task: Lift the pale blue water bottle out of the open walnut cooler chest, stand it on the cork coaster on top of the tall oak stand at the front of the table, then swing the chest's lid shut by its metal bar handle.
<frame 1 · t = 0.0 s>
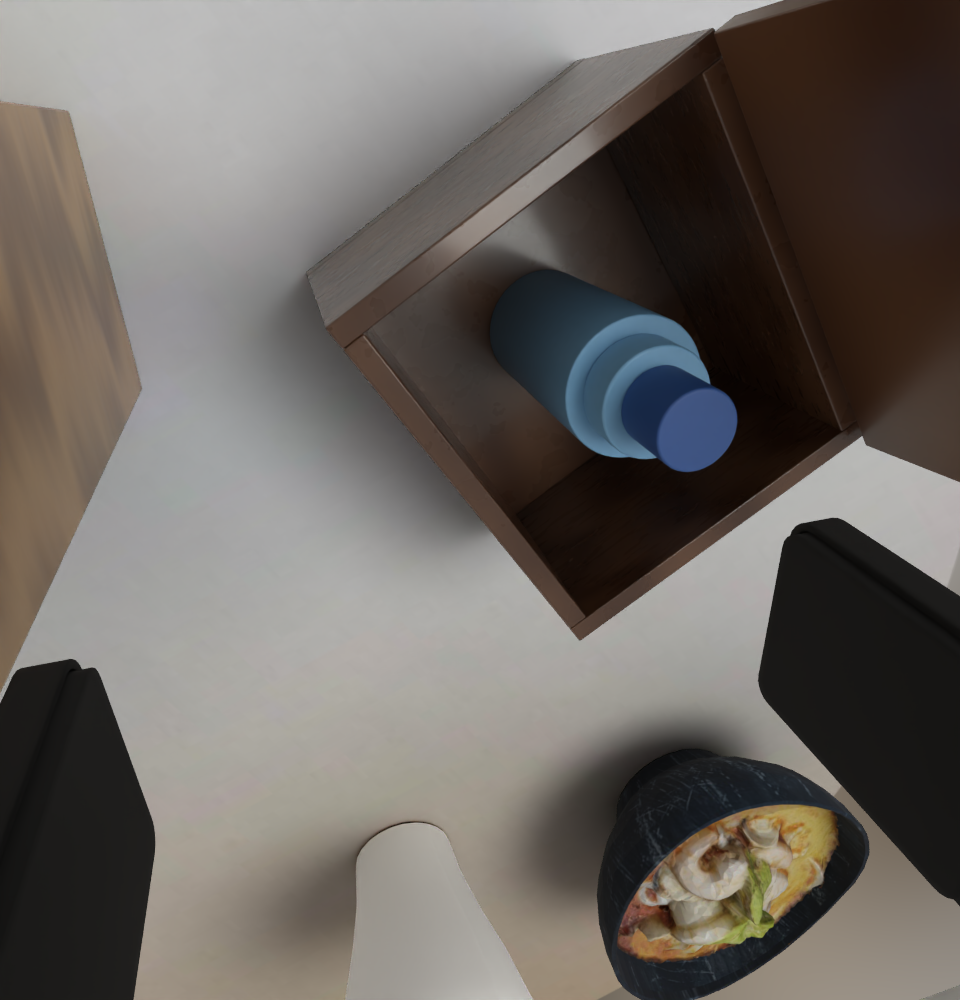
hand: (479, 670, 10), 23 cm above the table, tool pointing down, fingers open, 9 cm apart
cooler: (537, 324, 32), on the table
bowl: (669, 791, 50), on the table
cup: (402, 852, 46), on the table
bottle: (543, 328, 32), point 1 cm above the table, touching cooler
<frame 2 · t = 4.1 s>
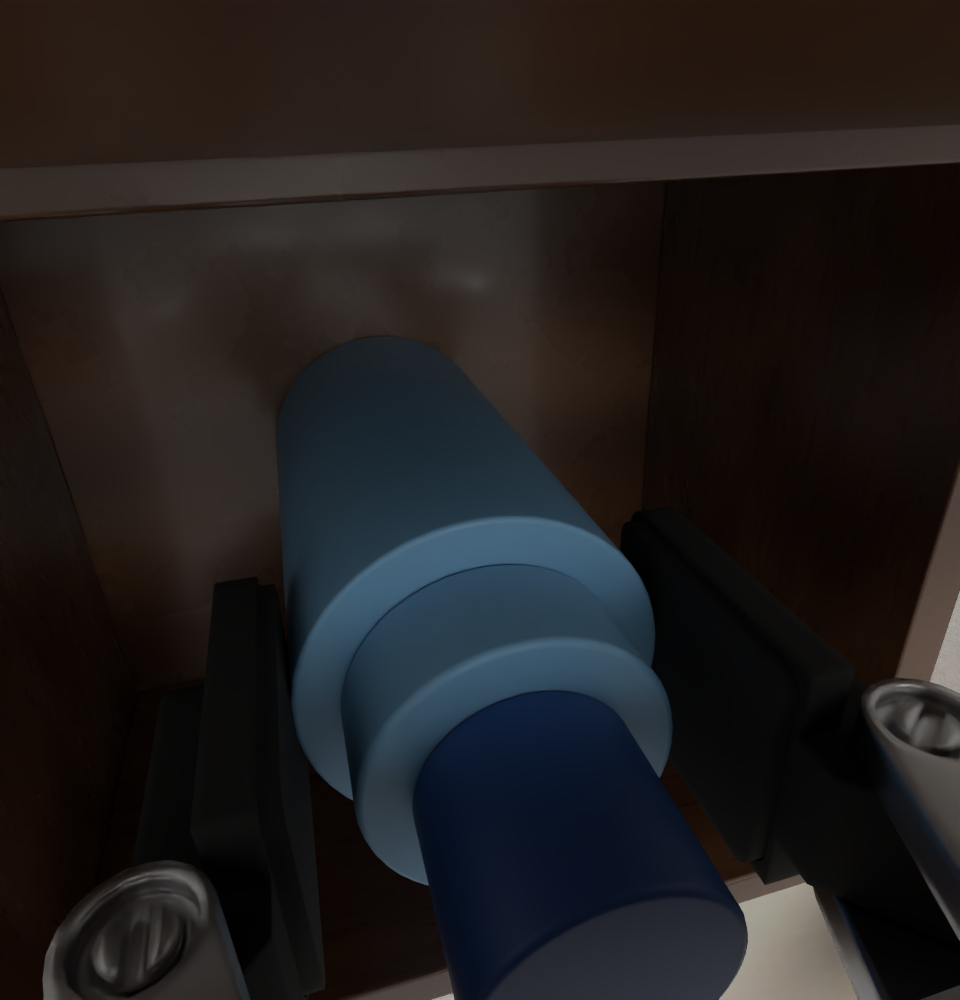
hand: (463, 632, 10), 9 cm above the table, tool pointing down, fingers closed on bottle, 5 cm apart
cooler: (378, 427, 18), on the table
bottle: (383, 439, 17), point 1 cm above the table, touching cooler, gripper
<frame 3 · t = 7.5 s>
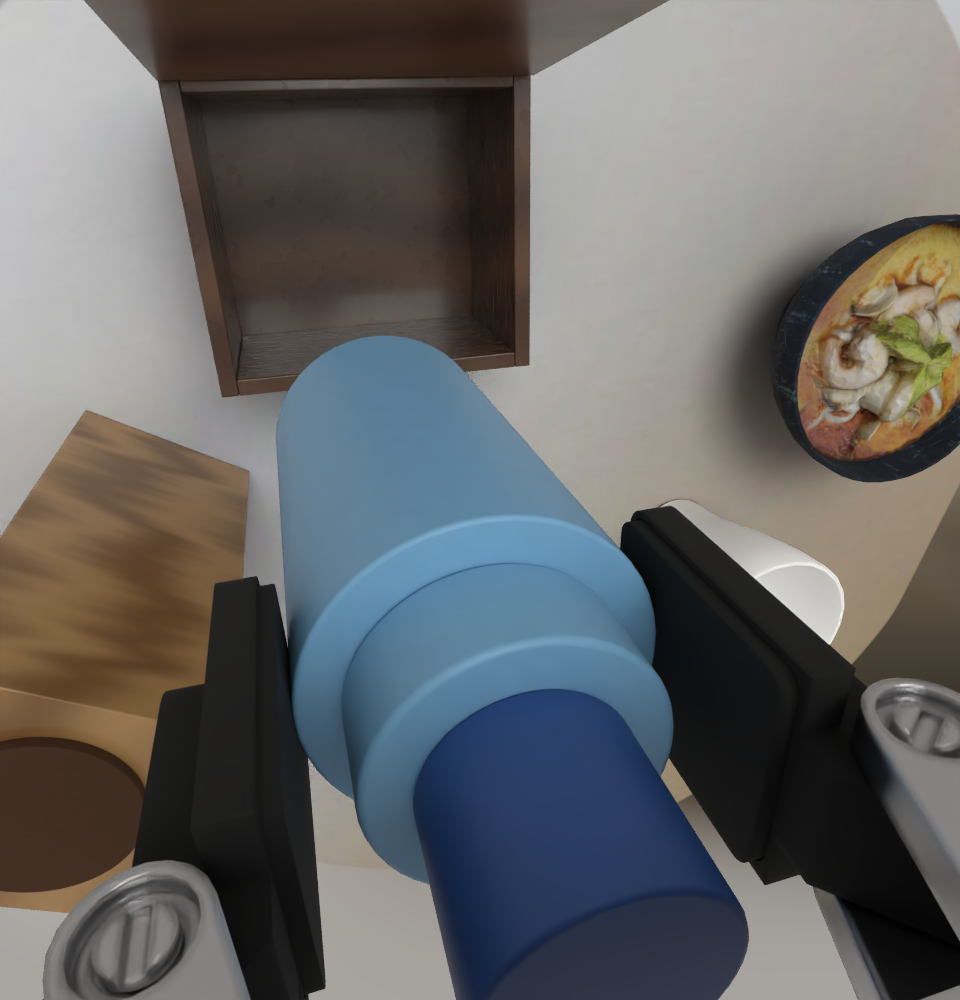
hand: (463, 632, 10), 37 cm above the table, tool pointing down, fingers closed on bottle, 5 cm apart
cooler: (349, 218, 41), on the table
stand: (143, 507, 46), on the table
bowl: (823, 327, 53), on the table
cup: (671, 531, 58), on the table
bottle: (383, 438, 17), point 29 cm above the table, touching gripper
coaster: (40, 812, 25), resting on stand
when the fingers open (32 cm above the table, at t = 10.8 s): bottle stays where it is, resting on coaster.
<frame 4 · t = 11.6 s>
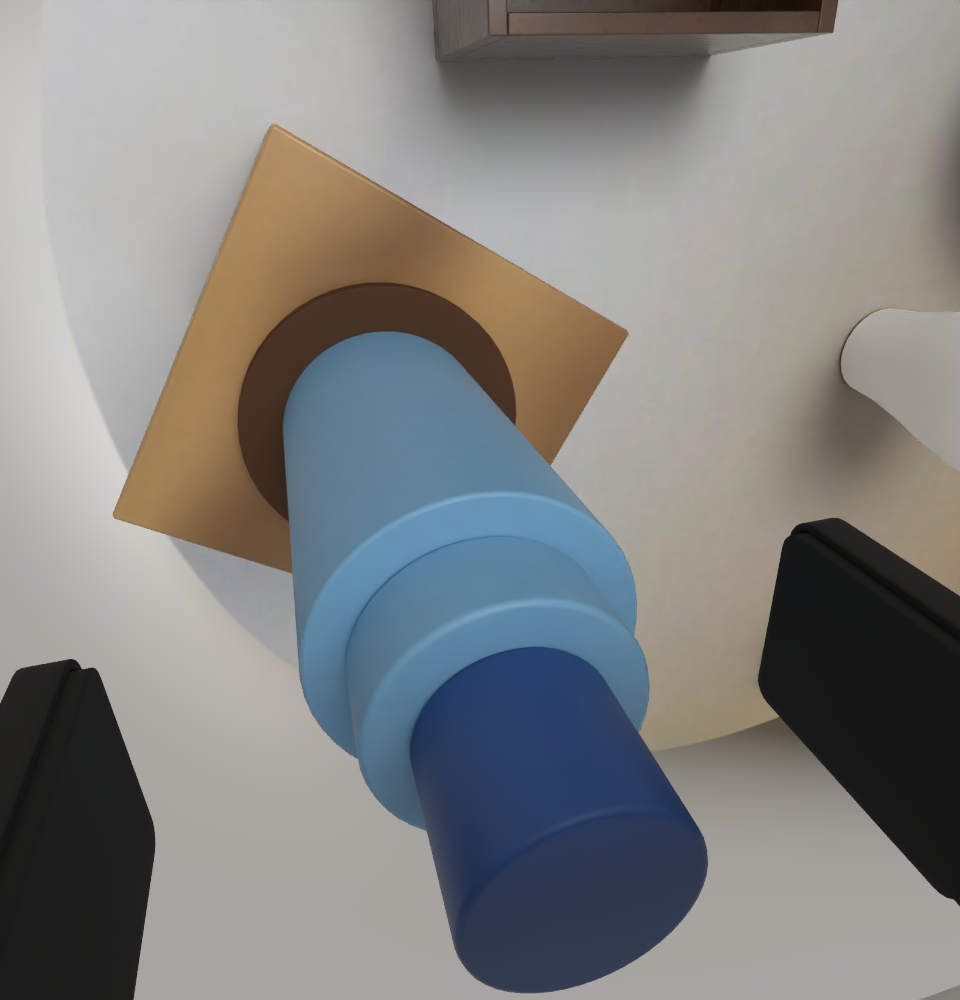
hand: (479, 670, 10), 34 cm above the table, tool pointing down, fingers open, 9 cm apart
stand: (318, 272, 39), on the table
cup: (874, 349, 51), on the table
bottle: (385, 430, 18), point 24 cm above the table, touching coaster
coaster: (381, 421, 18), resting on stand
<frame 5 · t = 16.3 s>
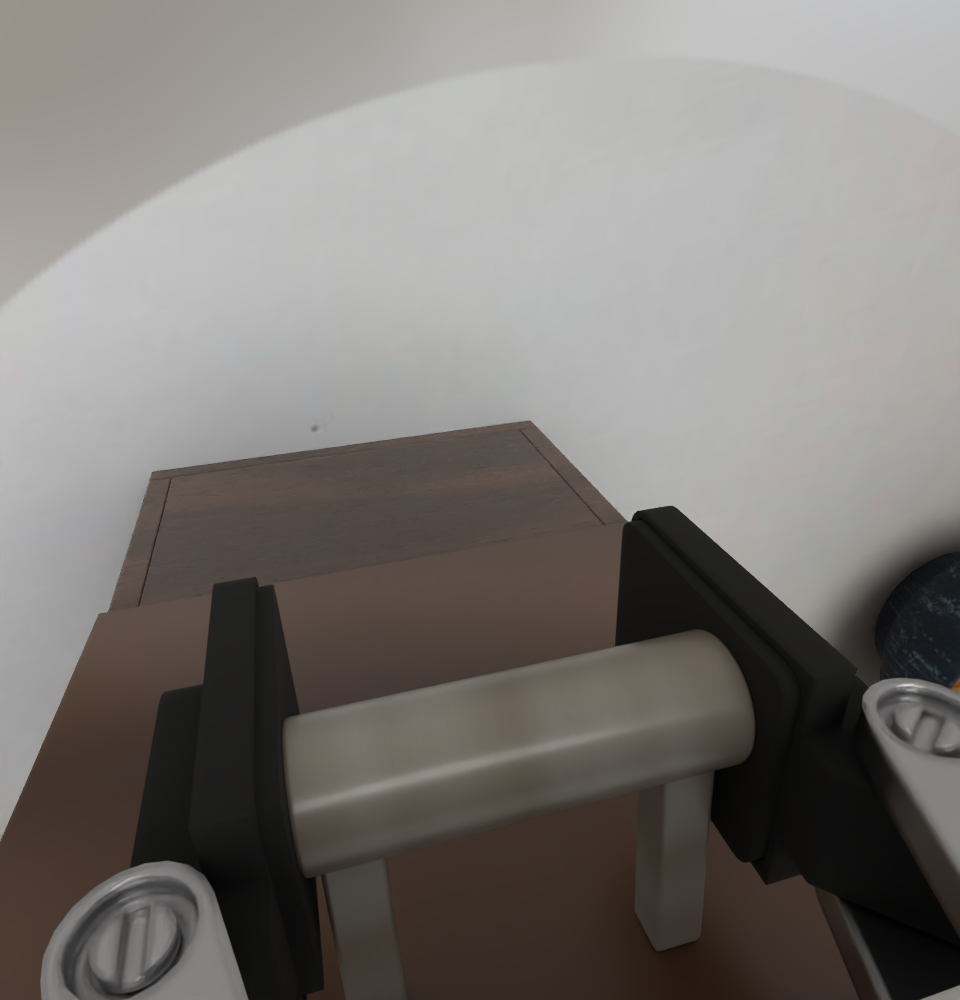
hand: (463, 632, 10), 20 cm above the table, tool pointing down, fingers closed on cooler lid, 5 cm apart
cooler: (369, 581, 33), on the table
cooler lid: (437, 639, 13), point 17 cm above the table, hinge at 95.0°, touching gripper
bowl: (929, 608, 45), on the table
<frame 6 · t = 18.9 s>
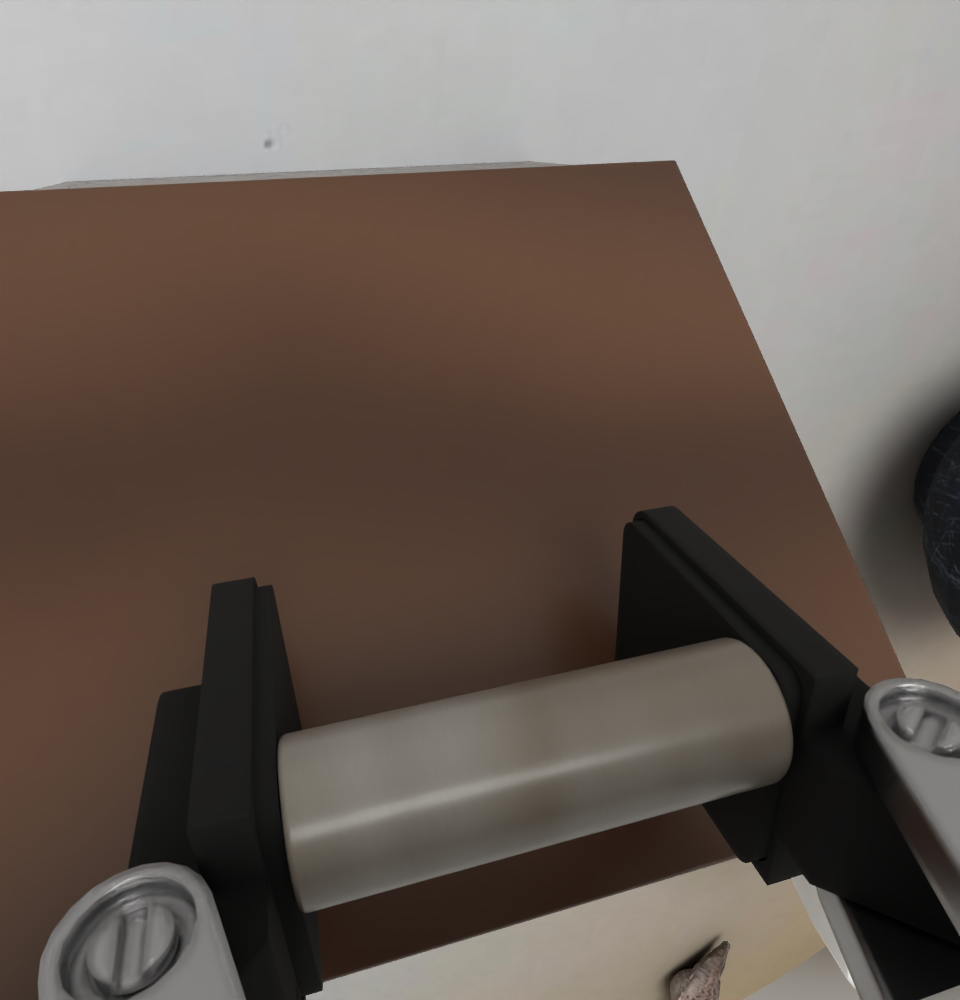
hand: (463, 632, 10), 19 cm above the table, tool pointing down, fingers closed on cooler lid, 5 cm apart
cooler: (338, 364, 28), on the table
seashell: (691, 967, 56), on the table
cooler lid: (422, 419, 11), point 17 cm above the table, hinge at 50.0°, touching gripper
cup: (762, 714, 45), on the table
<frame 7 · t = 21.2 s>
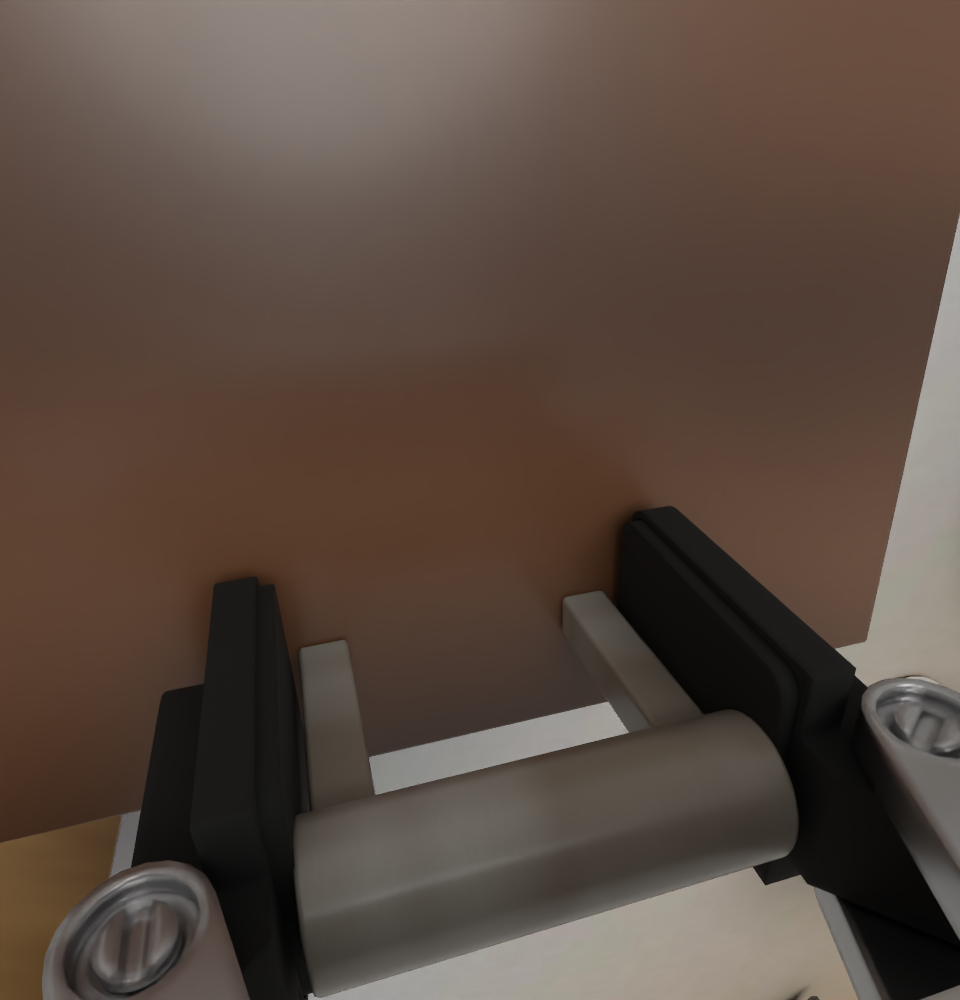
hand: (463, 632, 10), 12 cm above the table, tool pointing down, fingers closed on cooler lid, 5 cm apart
cooler lid: (474, 304, 7), point 13 cm above the table, hinge at 2.7°, touching gripper
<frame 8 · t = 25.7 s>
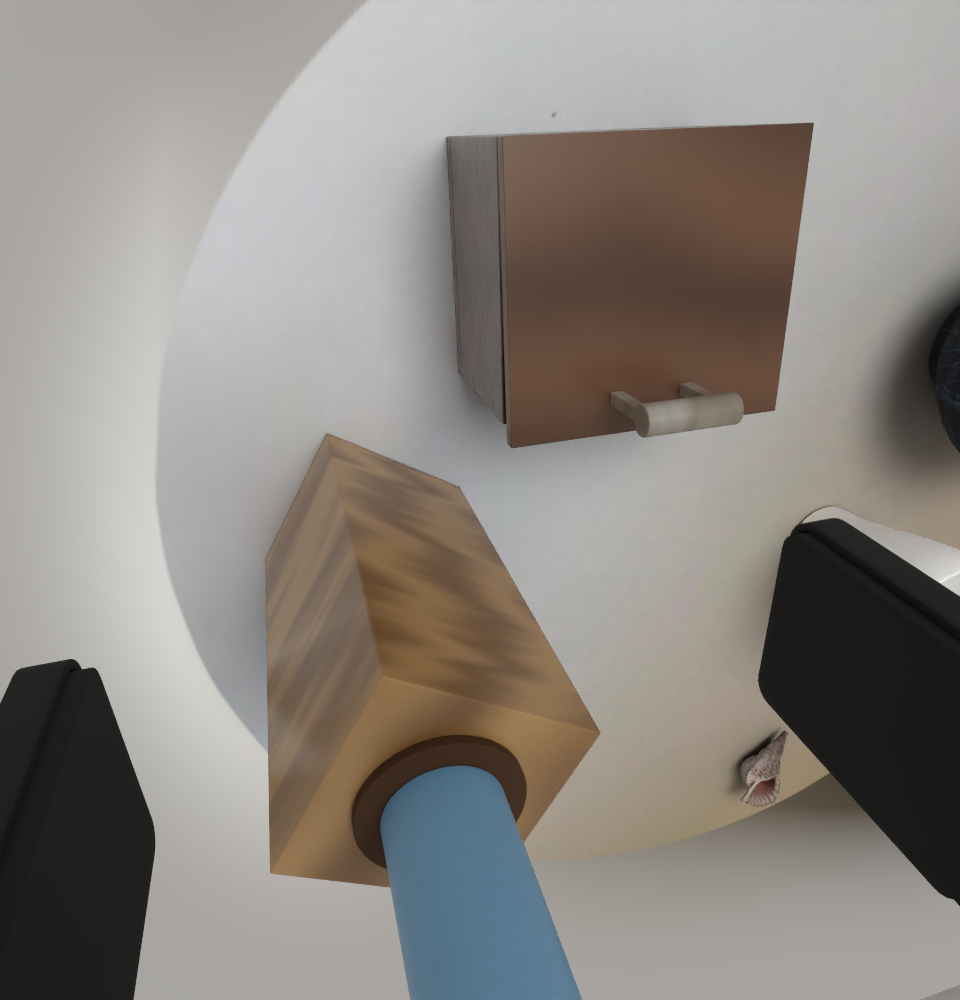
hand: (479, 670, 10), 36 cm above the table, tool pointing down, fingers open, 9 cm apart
cooler: (573, 253, 45), on the table
stand: (363, 522, 49), on the table
seashell: (756, 757, 73), on the table
cooler lid: (676, 297, 34), point 13 cm above the table, hinge at 2.3°
cup: (818, 536, 62), on the table
bottle: (443, 812, 28), point 24 cm above the table, touching coaster
coaster: (440, 801, 28), resting on stand
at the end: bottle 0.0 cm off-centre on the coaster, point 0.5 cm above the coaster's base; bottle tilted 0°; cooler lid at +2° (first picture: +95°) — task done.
